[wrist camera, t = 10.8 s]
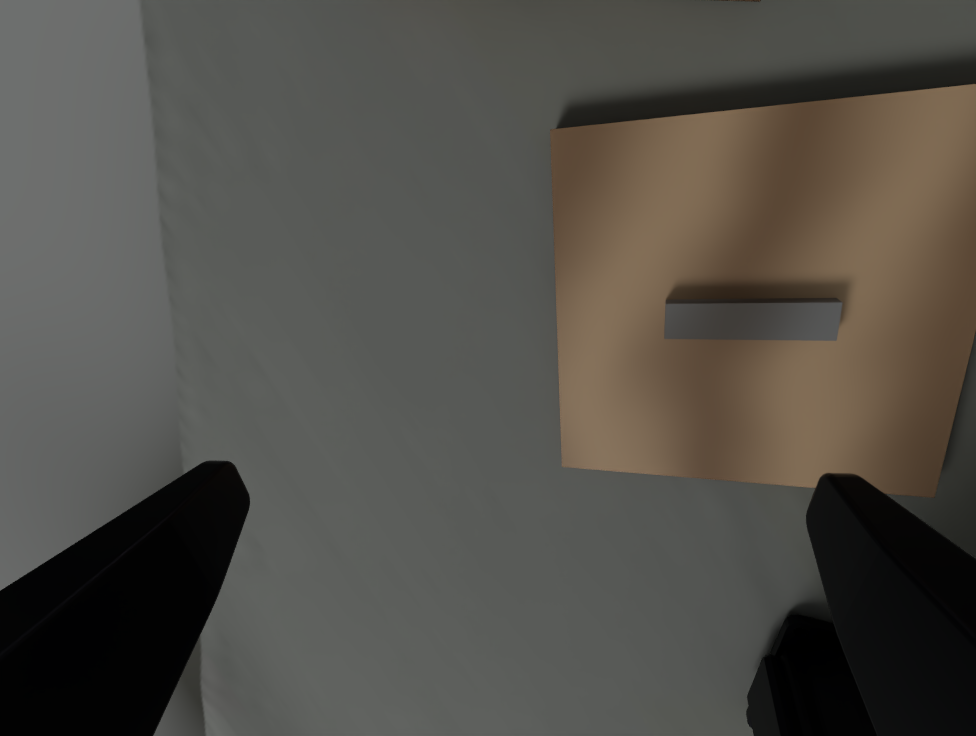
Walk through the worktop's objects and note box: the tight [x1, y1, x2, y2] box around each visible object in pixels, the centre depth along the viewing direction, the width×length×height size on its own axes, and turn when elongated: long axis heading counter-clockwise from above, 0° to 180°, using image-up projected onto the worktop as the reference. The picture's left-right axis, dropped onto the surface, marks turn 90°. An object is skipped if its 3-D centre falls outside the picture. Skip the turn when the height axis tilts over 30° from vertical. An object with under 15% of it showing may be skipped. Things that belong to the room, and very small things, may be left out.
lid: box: [550, 84, 976, 498], centre depth 17 cm, size 12×12×1 cm
